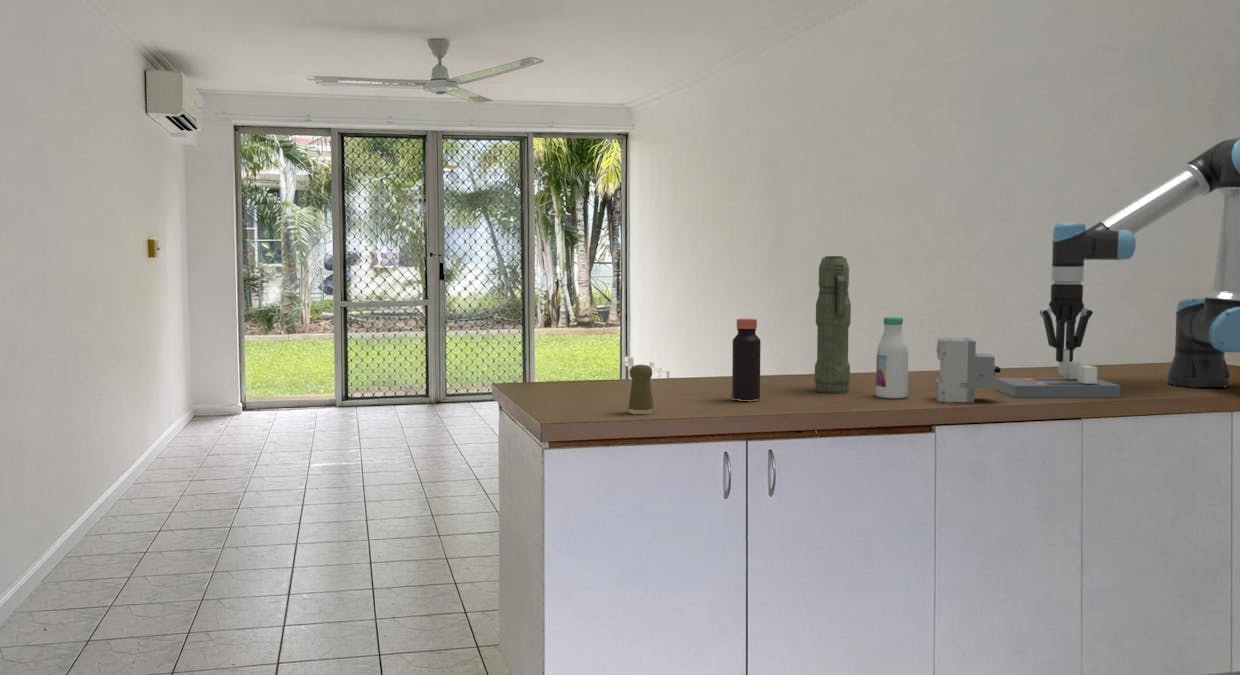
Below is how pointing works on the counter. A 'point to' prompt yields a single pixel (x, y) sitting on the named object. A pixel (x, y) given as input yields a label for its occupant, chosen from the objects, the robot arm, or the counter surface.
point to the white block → (1087, 374)
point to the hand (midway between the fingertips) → (1063, 374)
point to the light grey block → (1073, 370)
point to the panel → (1056, 388)
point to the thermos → (833, 326)
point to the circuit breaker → (962, 370)
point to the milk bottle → (892, 361)
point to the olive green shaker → (641, 388)
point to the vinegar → (746, 361)
